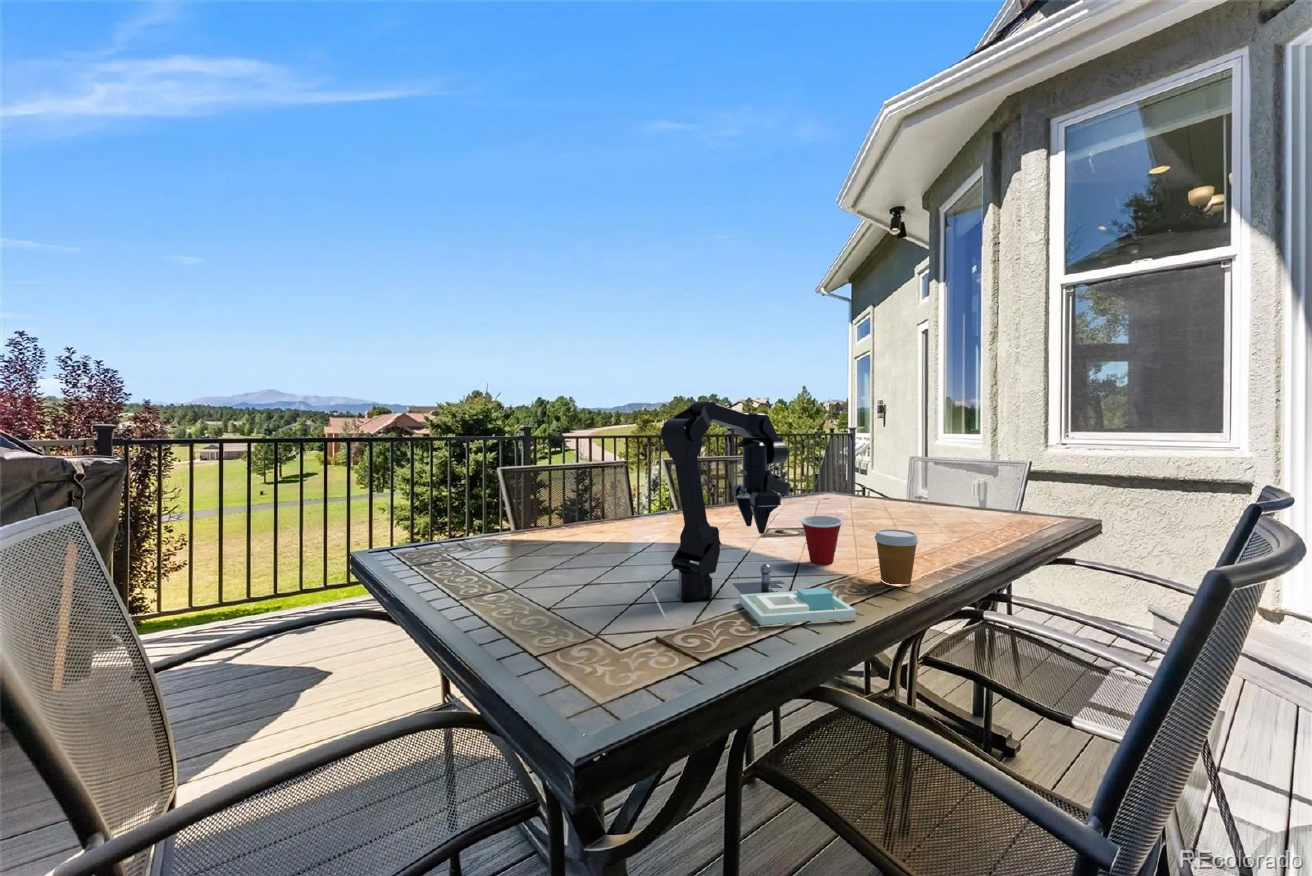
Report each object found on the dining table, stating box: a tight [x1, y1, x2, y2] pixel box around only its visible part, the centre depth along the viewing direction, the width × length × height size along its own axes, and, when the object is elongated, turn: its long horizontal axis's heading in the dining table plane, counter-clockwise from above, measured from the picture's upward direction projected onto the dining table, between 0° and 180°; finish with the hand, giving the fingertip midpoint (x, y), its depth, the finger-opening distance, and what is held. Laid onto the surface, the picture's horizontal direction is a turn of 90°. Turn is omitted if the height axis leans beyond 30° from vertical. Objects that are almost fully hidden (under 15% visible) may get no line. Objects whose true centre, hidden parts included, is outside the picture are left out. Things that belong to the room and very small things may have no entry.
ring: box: [756, 587, 834, 614], centre depth 111 cm, size 14×8×4 cm, turn 99°
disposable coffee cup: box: [874, 528, 920, 584], centre depth 129 cm, size 10×10×12 cm
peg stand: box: [732, 563, 786, 594], centre depth 124 cm, size 12×12×6 cm
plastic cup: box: [800, 515, 843, 566], centre depth 148 cm, size 11×11×12 cm
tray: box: [739, 590, 857, 625], centre depth 111 cm, size 19×13×2 cm
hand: (754, 529), depth 134 cm, fingers open, 9 cm apart
